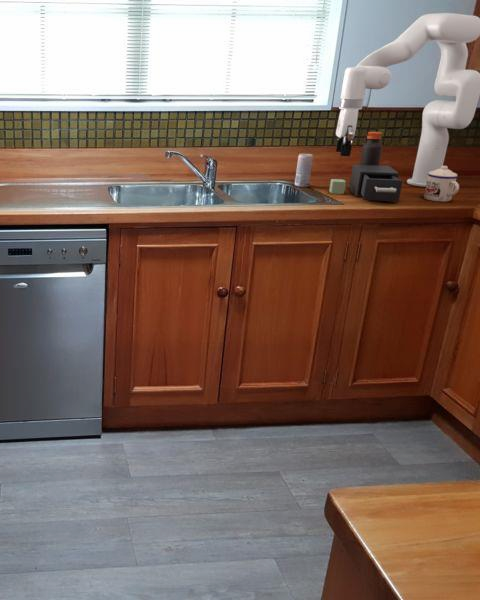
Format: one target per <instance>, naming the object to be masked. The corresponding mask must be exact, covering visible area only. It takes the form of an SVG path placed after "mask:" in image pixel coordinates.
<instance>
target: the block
mask: <svg viewBox="0 0 480 600" xmlns="http://www.w3.org/2000/svg"><path fill="white" fill-rule="evenodd" d="M346 185H347V181H346V180H345V179H340V178H339V179H337V178H331V179H330V184H329V190H328V191H329V193H330V194H332V195H333V194H335V195H344V194H345V190H346Z"/></svg>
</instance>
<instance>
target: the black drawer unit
mask: <svg viewBox="0 0 480 600" xmlns="http://www.w3.org/2000/svg"><path fill="white" fill-rule="evenodd" d="M403 182H404V180H403V179H399V178H398V179H397V178H396V177H395V176H393V175H375V174H362V180H361V186H360V191H359V193H360V194H361V195H362V196H363V197H362V200H363V201H377V202H379V201H380V202H395V203H396V202H397V203H398V202H400V198H401V193H402V188H403V187H402V186H403V184H404V183H403Z"/></svg>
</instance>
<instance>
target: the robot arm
mask: <svg viewBox="0 0 480 600" xmlns="http://www.w3.org/2000/svg"><path fill="white" fill-rule="evenodd" d="M479 37H480V17H479V16H477V15H471V14H462V13H453V12H437V13H435V12H434V13H426V14H422V15H421V16H419V17H418V18H417V19H416V20H415V21H414V22H412V24H411V25H410V26H409V27H408V28H406V29H405V30H404V31H403V32H402V33H401V34H400V35H399V36H398V37H397V38H396V39H394V40H393V41H392V42H390V43H387V44H386V45H384V46H382V47H380V48H377V49H376V50H374V51H372V52H371V53H370V54H368V55H366V56H365V57H364V58H363V59H361V61H359V63H357V65H356V66H348V67H347V68H345V70H344V74H343V81H342V86H341V92H340V99H339V105H338V109H339V110H340V111H339V116H338V120H337V125H336V130H335V135H336V137H337V141H336V147H335V152H336V153H339V155H340V157H351V153H352V147H353V138H354V137H355V135H356V130H357V125H358V124H357V123H358V118H359V110H362V109H363V104H364V98H365V92H366V90H367V89H368V90H381V89H385V87H387V86H388V85H389V84H390V82H391V79H392V73H391V71H390V69H389V68H387V67H390V66H394V65H397V64H401V63H403V62H406V61H409V60H411V59H412V58H414V56H415V55H417V53H419V51H421V50H422V49H423V48H424V47H425V46H426V45H428V43H429V42H431V41H435V42H436V44H437V45H438V48H439V49H440V60H439V65H438V69H437V72H436V73H437V74H436V76H435V81H434V86H433V90H434V93H435V94H436V95H438V96H442V97H451V98H455V100H447V99H436V100H432V101H430V102H428V103H427V104H426V105H425V106H424V108H423V111H422V117H421V118H422V119H421V122H422V123H421V134H420V139H419V144H418V149H417V154H416V158H415V162H414V167H413V173H412V177H411V178H408V179H407V180H406V184H408V185H410V186H414V187H422V188H426V184H427V180H428V173H429V172H430V171H435V170H437V169H441V166H444V162H445V158H446V154H447V149H448V145H449V140H450V135H449V131H448V129H452V130H463V129H465V128H467V127H468V126H469V125H470V124H471V122H472V121H473V119H474V117H475V114H476V110H477V106H478V102H479V99H480V72H479V71H477V70H475V69H466V67H467V63H468V57H469V49H468V46H467V43H472V42H475V40H477V39H478V38H479Z"/></svg>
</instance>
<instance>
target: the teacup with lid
mask: <svg viewBox="0 0 480 600" xmlns="http://www.w3.org/2000/svg"><path fill="white" fill-rule="evenodd" d="M457 178H458V173H456V172H453V171H452V170H451V169H449V167H448V166H447V165H443V166H441V169H437V170H435V171H430V172H429V173H428V180H427V184H426V187H425V189H424V193H423V199H425V200H428V201H432V202H439V203H440V202H441V203H448V202H451V201H452V198H453V196H455V195H457V194H458V193H459V189H460V184H459V183H458V182H457Z"/></svg>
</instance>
